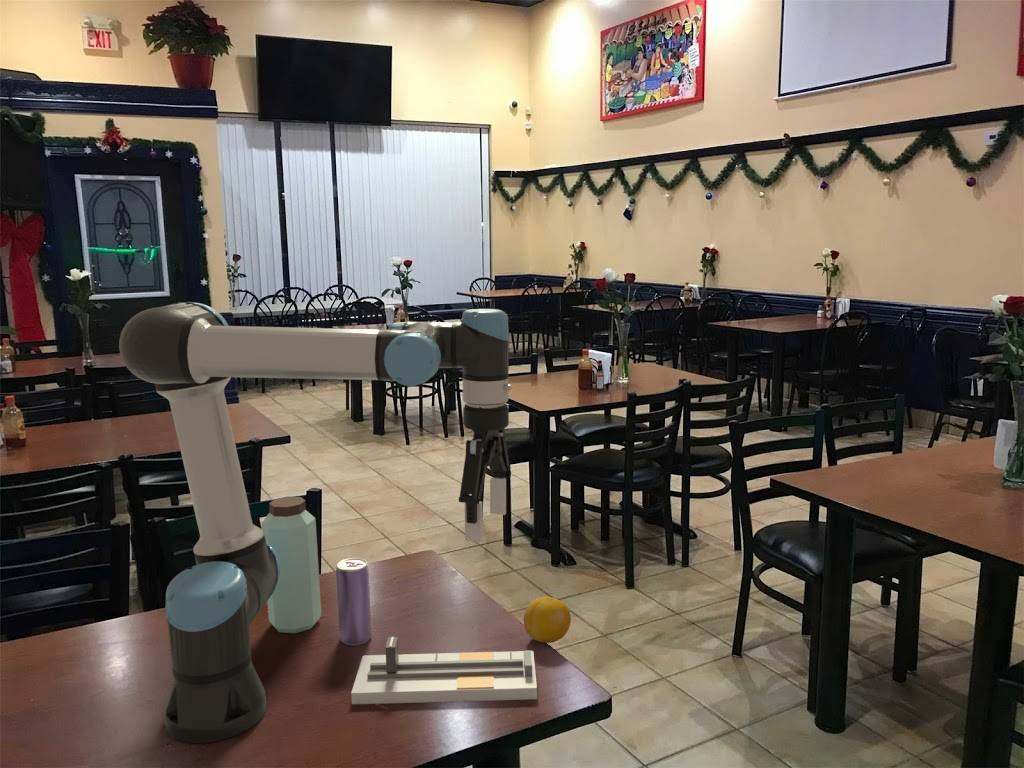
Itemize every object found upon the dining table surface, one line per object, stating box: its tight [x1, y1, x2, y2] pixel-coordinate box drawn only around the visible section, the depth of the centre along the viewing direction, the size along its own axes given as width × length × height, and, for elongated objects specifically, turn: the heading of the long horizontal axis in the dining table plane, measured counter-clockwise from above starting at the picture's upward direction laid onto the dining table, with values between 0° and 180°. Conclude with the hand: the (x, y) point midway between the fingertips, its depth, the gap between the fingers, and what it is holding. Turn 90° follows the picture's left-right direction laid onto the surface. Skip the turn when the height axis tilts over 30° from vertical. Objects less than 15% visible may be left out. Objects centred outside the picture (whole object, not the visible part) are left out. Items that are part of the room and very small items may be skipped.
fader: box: [385, 636, 399, 672], centre depth 136 cm, size 2×4×6 cm, turn 1°
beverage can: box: [335, 557, 373, 647], centre depth 151 cm, size 6×6×15 cm
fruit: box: [523, 595, 572, 644], centre depth 150 cm, size 9×8×8 cm
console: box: [350, 649, 538, 705], centre depth 137 cm, size 30×12×4 cm, turn 91°
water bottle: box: [261, 496, 322, 634], centre depth 157 cm, size 10×10×25 cm
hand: (486, 526), depth 137 cm, fingers open, 13 cm apart
